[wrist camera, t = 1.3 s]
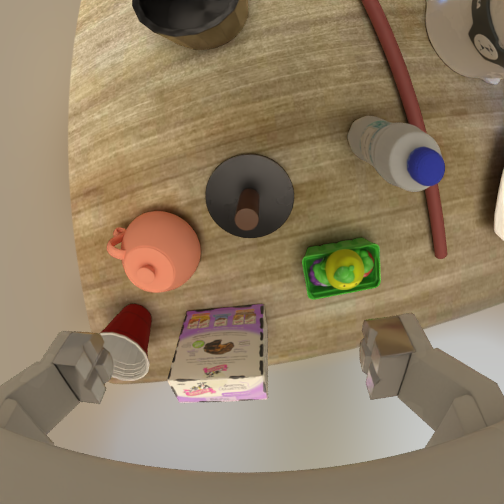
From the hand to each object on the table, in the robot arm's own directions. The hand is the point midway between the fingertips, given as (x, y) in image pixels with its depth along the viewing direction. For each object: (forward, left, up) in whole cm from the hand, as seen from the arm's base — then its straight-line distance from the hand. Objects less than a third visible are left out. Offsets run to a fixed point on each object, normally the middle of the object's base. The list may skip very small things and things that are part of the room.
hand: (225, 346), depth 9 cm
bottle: (-12, +10, -38) cm, 41 cm away
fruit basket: (+3, +21, -38) cm, 43 cm away
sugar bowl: (+21, 0, -38) cm, 43 cm away
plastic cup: (+37, +6, -38) cm, 53 cm away
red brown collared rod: (-19, +13, -38) cm, 44 cm away
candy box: (+25, +18, -38) cm, 48 cm away
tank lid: (+6, +5, -37) cm, 38 cm away
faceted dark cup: (-9, -18, -37) cm, 43 cm away
